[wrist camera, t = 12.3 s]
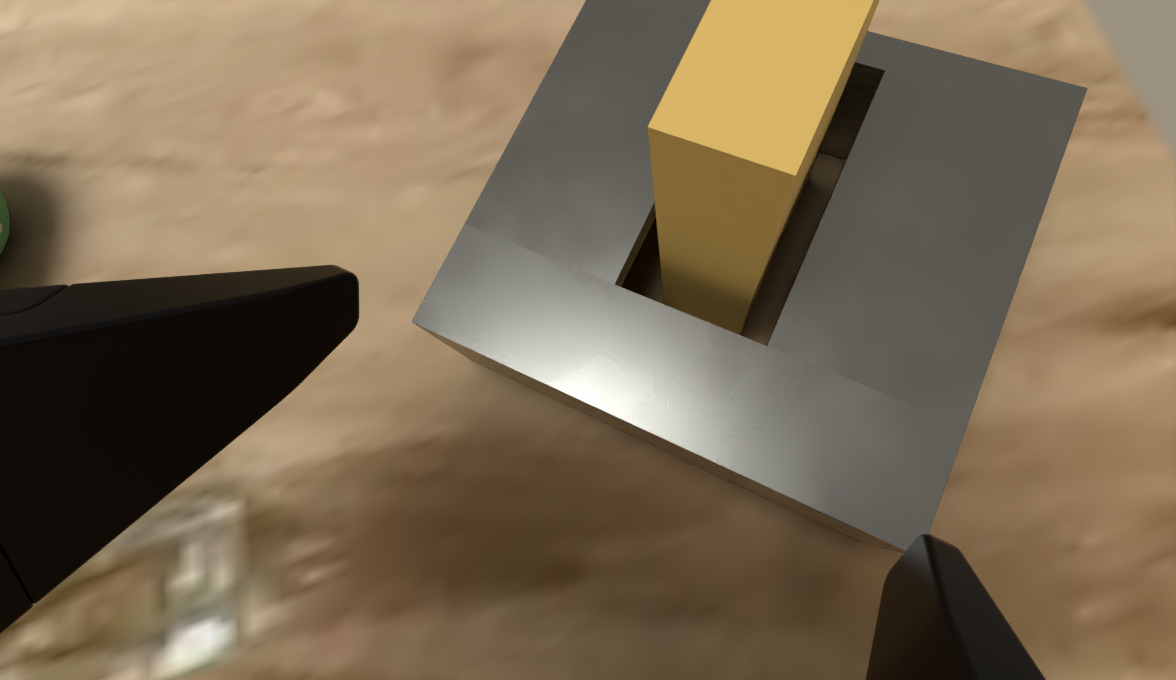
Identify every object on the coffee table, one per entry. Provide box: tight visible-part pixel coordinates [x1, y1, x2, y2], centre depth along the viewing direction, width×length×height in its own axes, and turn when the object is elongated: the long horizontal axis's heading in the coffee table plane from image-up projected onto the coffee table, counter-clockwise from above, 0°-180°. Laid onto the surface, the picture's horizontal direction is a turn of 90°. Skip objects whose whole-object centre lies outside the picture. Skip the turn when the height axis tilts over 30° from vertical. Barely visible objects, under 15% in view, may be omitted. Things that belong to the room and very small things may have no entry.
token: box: [648, 0, 879, 335], centre depth 15 cm, size 6×2×10 cm, turn 154°
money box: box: [412, 0, 1087, 553], centre depth 17 cm, size 12×13×4 cm
